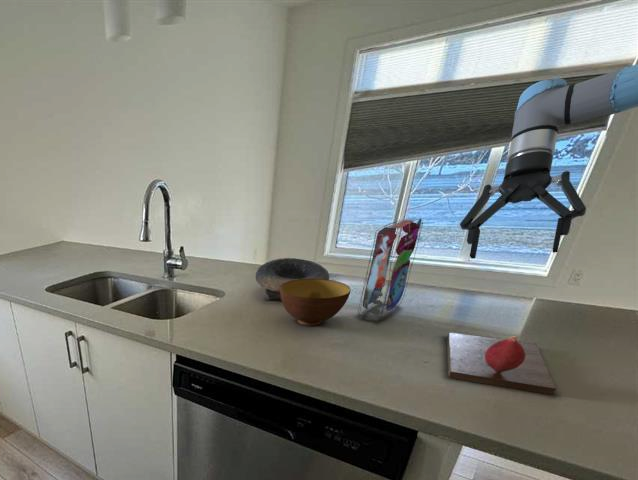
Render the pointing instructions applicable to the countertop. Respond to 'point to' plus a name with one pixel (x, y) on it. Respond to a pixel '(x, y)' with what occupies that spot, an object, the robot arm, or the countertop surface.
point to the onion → (505, 355)
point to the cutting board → (472, 366)
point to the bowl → (313, 299)
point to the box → (382, 261)
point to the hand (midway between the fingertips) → (511, 254)
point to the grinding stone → (287, 274)
